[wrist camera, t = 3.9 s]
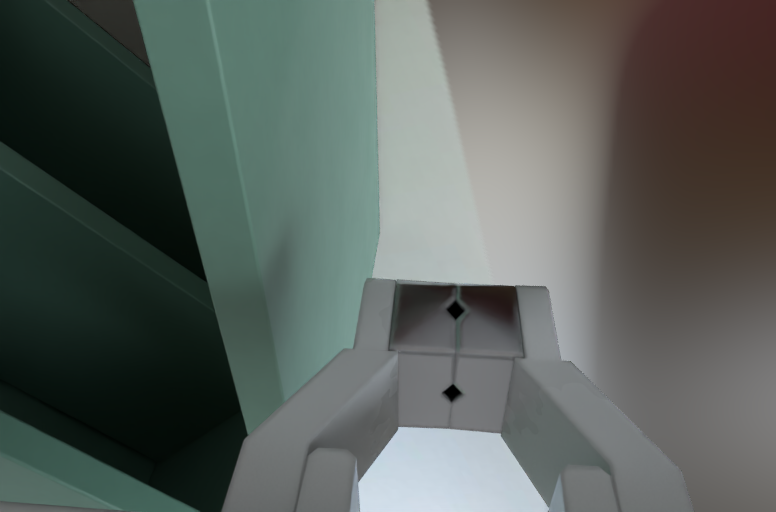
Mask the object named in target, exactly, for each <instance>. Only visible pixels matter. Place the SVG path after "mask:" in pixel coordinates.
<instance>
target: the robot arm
mask: <svg viewBox="0 0 776 512" xmlns="http://www.w3.org/2000/svg"><path fill="white" fill-rule="evenodd" d="M398 427H419V428H445V429H458V430H469V431H480V432H491V433H501V437H502V438H503V440H504V441H505V443H506V444H507V446H508V447H509V449H510V450H511V452H512V453H513V455H514V456H515V458H516V459H517V461H518V462H519V464H520V465H521V467H522V468H523V470H524V471H525V473H526V474H527V476H528V477H529V479H530V480H531V482H532V483H533V485H534V486H535V488H536V489H537V491H538V492H539V494H540V495H541V497H542V498H543V500H544V501H545V503H546V504H547V506H548V507H549V511H548V512H694V509H693V506H692V503H691V500H690V497H689V494H688V490H687V487H686V484H685V481H684V478H683V474H682V471H681V470H680V469H679V468H678V467H677V466H676V465H675V464H674V463H673V462H672V461H671V460H670V459H669V458H668V457H667V456H666V455H665V454H664V453H663V452H662V451H661V450H660V449H659V448H658V447H657V446H656V445H655V444H654V443H653V442H652V441H651V440H650V439H649V438H648V437H647V436H646V435H645V434H644V433H643V432H642V431H641V430H640V429H639V428H638V427H637V426H636V425H635V424H634V423H633V422H632V421H631V420H630V419H629V418H628V417H627V416H626V415H625V414H624V413H623V412H622V411H621V410H619V408H617V406H616V405H615V404H614V403H612V401H611V400H609V399H608V397H606V396H605V395H604V394H603V393H602V392H601V391H600V390H599V389H598V388H597V387H596V386H595V385H594V384H593V383H592V382H591V381H590V380H589V379H588V378H587V377H586V376H585V375H584V374H583V373H582V372H581V371H580V370H579V369H578V368H577V367H576V366H575V365H574V364H573V363H572V362H571V361H561V356H560V351H559V345H558V339H557V334H556V328H555V323H554V317H553V312H552V307H551V301H550V296H549V291H548V289H547V288H546V287H545V286H515V287H514V286H503V285H479V284H454V283H440V282H426V281H412V280H398V279H397V281H396V280H390V279H376V278H367V279H366V281H365V283H364V287H363V293H362V298H361V304H360V310H359V316H358V322H357V327H356V333H355V339H354V345H353V349H348V348H344V349H343V350H342V351H341V352H339V353H338V354H337V355H336V356H335V357H334V358H333V359H332V360H331V361H330V362H328V363H327V364H326V365H325V366H324V367H323V368H322V369H321V370H320V371H319V372H317V373H316V374H315V375H314V376H313V377H312V378H311V379H310V380H309V381H308V382H306V383H305V384H304V385H303V386H302V387H301V388H300V389H299V390H298V391H297V392H296V393H294V394H293V395H292V396H291V397H290V398H289V399H288V400H287V401H286V402H285V403H283V404H282V405H281V406H280V407H279V408H278V409H277V410H276V411H275V412H274V413H272V414H271V415H270V416H269V417H268V418H267V419H266V420H265V421H264V422H263V423H261V424H260V425H259V426H258V427H257V428H256V429H255V430H254V431H253V432H252V433H251V434H249V435H248V436H247V437H246V438H245V439H244V441H243V444H242V447H241V451H240V454H239V457H238V460H237V463H236V466H235V470H234V473H233V476H232V479H231V482H230V485H229V489H228V492H227V495H226V498H225V501H224V505H223V508H222V511H221V512H360V504H359V489H358V482H359V481H360V479H361V478H362V477H363V475H364V474H365V473H366V471H367V470H368V469H369V467H370V466H371V465H372V463H373V462H374V461H375V459H376V458H377V457H378V455H379V454H380V453H381V452H382V450H383V449H384V448H385V446H386V445H387V444H388V442H389V441H390V440H391V438H392V437H393V436H394V434H395V433H396V432H397V430H398ZM0 512H135V511H122V510H109V509H96V508H83V507H70V506H57V505H44V504H31V503H19V502H6V501H0Z"/></svg>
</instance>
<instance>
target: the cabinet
mask: <svg viewBox="0 0 776 512" xmlns="http://www.w3.org/2000/svg"><path fill="white" fill-rule="evenodd" d="M247 436H248V434H247V430H246V426H245V422H244V419H243V415H242V411H241V407H240V404H239V400H238V396H237V392H236V388H235V385H234V381H233V377H232V373H231V370H230V366H229V362H228V358H227V354H226V351H225V347H224V343H223V339H222V336H221V332H220V328H219V324H218V320H217V317H216V313H215V309H214V305H213V302H212V298H211V294H210V290H209V286H208V283H207V279H206V275H205V271H204V268H203V264H202V260H201V256H200V252H199V249H198V245H197V241H196V237H195V234H194V230H193V226H192V222H191V218H190V215H189V211H188V207H187V203H186V200H185V196H184V192H183V188H182V184H181V181H180V177H179V173H178V169H177V166H176V162H175V158H174V154H173V150H172V147H171V143H170V139H169V135H168V132H167V128H166V124H165V120H164V116H163V113H162V109H161V105H160V101H159V98H158V94H157V90H156V86H155V82H154V79H153V75H152V71H151V68H150V67H148V66H147V65H146V64H145V63H144V62H142V61H141V60H140V59H139V58H137V57H136V56H135V55H134V54H132V53H131V52H130V51H129V50H128V49H126V48H125V47H124V46H123V45H121V44H120V43H119V42H118V41H117V40H115V39H114V38H113V37H112V36H110V35H109V34H108V33H107V32H105V31H104V30H103V29H102V28H101V27H99V26H98V25H97V24H96V23H94V22H93V21H92V20H91V19H90V18H88V17H87V16H86V15H85V14H83V13H82V12H81V11H80V10H78V9H77V8H76V7H75V6H74V5H72V4H71V3H70V2H69V1H67V0H0V501H6V502H19V503H31V504H44V505H57V506H70V507H83V508H96V509H109V510H122V511H135V512H221V511H222V508H223V505H224V501H225V498H226V495H227V492H228V489H229V485H230V482H231V479H232V476H233V473H234V470H235V466H236V463H237V460H238V457H239V454H240V451H241V447H242V444H243V441H244V439H245V438H246V437H247Z"/></svg>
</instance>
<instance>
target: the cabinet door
mask: <svg viewBox="0 0 776 512" xmlns="http://www.w3.org/2000/svg"><path fill="white" fill-rule="evenodd" d="M133 3H134V7H135V11H136V14H137V18H138V22H139V26H140V30H141V33H142V37H143V41H144V45H145V48H146V52H147V56H148V60H149V64H150V67H151V71H152V75H153V79H154V82H155V86H156V90H157V94H158V98H159V101H160V105H161V109H162V113H163V116H164V120H165V124H166V128H167V132H168V135H169V139H170V143H171V147H172V150H173V154H174V158H175V162H176V166H177V169H178V173H179V177H180V181H181V184H182V188H183V192H184V196H185V200H186V203H187V207H188V211H189V215H190V218H191V222H192V226H193V230H194V234H195V237H196V241H197V245H198V249H199V252H200V256H201V260H202V264H203V268H204V271H205V275H206V279H207V283H208V286H209V290H210V294H211V298H212V302H213V305H214V309H215V313H216V317H217V320H218V324H219V328H220V332H221V336H222V339H223V343H224V347H225V351H226V354H227V358H228V362H229V366H230V370H231V373H232V377H233V381H234V385H235V388H236V392H237V396H238V400H239V404H240V407H241V411H242V415H243V419H244V422H245V426H246V430H247V434H248V435H249V434H251V433H252V432H253V431H254V430H255V429H256V428H257V427H258V426H259V425H260V424H261V423H263V422H264V421H265V420H266V419H267V418H268V417H269V416H270V415H271V414H272V413H274V412H275V411H276V410H277V409H278V408H279V407H280V406H281V405H282V404H283V403H285V402H286V401H287V400H288V399H289V398H290V397H291V396H292V395H293V394H294V393H296V392H297V391H298V390H299V389H300V388H301V387H302V386H303V385H304V384H305V383H306V382H308V381H309V380H310V379H311V378H312V377H313V376H314V375H315V374H316V373H317V372H319V371H320V370H321V369H322V368H323V367H324V366H325V365H326V364H327V363H328V362H330V361H331V360H332V359H333V358H334V357H335V356H336V355H337V354H338V353H339V352H341V351H342V350H343V349H344V348H348V349H353V345H354V339H355V333H356V327H357V322H358V316H359V310H360V304H361V298H362V293H363V287H364V283H365V281H366V279H367V278H372V273H373V268H374V262H375V256H376V251H377V245H378V239H379V234H380V223H379V181H378V139H377V97H376V55H375V13H374V0H133Z"/></svg>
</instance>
